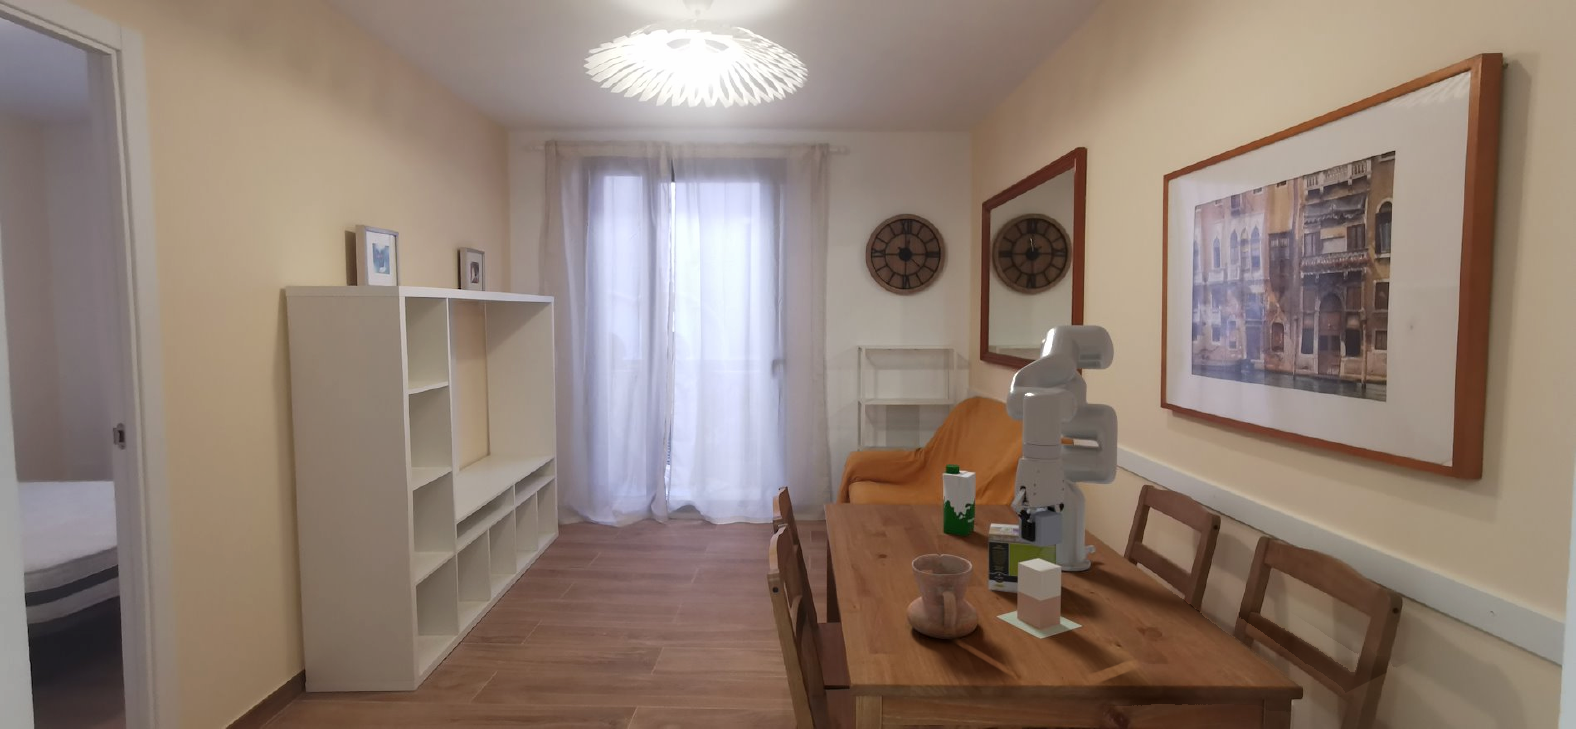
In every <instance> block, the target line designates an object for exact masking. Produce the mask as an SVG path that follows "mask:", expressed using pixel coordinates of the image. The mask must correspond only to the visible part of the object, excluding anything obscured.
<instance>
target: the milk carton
mask: <svg viewBox="0 0 1576 729" xmlns="http://www.w3.org/2000/svg"><path fill="white" fill-rule="evenodd" d="M976 478H977V477H976V472H974V471H973V472H972V471H967V470H960V465H958V464H946V465H945V472H943V473H942V486H943V487H942V489H943V490H942V491H943V492H942V493H943V496H942V497H943V504H942V505H943V506H942V508H943V509H942V510H943V511H942V514H943V515H942V516H943V518H942V524H943V525H942V527H943V529H942V530H943V531H942V532H943V533H945V534H950V535H956V536H963V537H967V536H968V535H970V534H971V533H973V531H974V530H975V520H976Z"/></svg>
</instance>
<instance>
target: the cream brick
mask: <svg viewBox="0 0 1576 729" xmlns="http://www.w3.org/2000/svg"><path fill="white" fill-rule="evenodd" d="M1018 591H1019V592H1021V593H1024V594H1026V595H1028V596H1030V597H1033V598H1035V599H1037V600H1040V601H1041V600H1045V599H1049V598H1052V597H1056V596H1060V595H1061V596H1062V570H1061V566H1058V565H1055V564H1053V563H1050V562H1047V561H1045V560H1042V559H1039V558H1037V559H1033V560H1029V561H1024V562H1020V563H1018Z"/></svg>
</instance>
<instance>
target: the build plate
mask: <svg viewBox="0 0 1576 729" xmlns="http://www.w3.org/2000/svg"><path fill="white" fill-rule="evenodd" d="M995 617H996V618H998V619H1000V620H1002V621H1004V622H1005V623H1008V624H1010V625H1012V626H1014V627H1016V628H1018V629H1020V630H1022V631H1024V632H1026V633H1028V634H1030V635H1032V636H1034V637H1036V638H1038V639H1039V640H1040V639H1045V638H1048V637H1051V636H1055V635H1058V634H1061V633H1065V632H1068V631H1071V630H1075V629H1077V628H1080V627H1083V626H1082V625H1081V624H1078V623H1076V622H1074V621H1071V620H1070V619H1067V618H1065V617H1063V616H1061V615H1060V624H1057V625H1054V626H1050V627H1047V628H1044V629H1040V630H1039V629H1037V628H1035V627H1033V626H1031V625H1029V624H1027V623H1025V622H1023V621H1021V620H1019V619H1017V610H1014V611H1011V612H1007V613H1003V614H1000V615H997V616H995Z"/></svg>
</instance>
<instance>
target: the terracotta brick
mask: <svg viewBox="0 0 1576 729" xmlns="http://www.w3.org/2000/svg"><path fill="white" fill-rule="evenodd" d="M1061 598H1062V594H1061V595H1060V596H1056V597H1052V598H1049V599H1045V600H1041V601H1040V600H1037V599H1035V598H1033V597H1030V596H1028V595H1026V594H1024V593H1021V592H1019V591H1018V593H1017V607H1016V608H1017V609H1016V611H1017V619H1019V620H1021V621H1023V622H1025V623H1027V624H1029V625H1031V626H1033V627H1035V628H1037V629H1039V630H1040V629H1044V628H1047V627H1050V626H1054V625H1057V624H1060V616H1061V611H1062V610H1061V609H1062V608H1061V604H1062V602H1061V601H1062V599H1061Z"/></svg>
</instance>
